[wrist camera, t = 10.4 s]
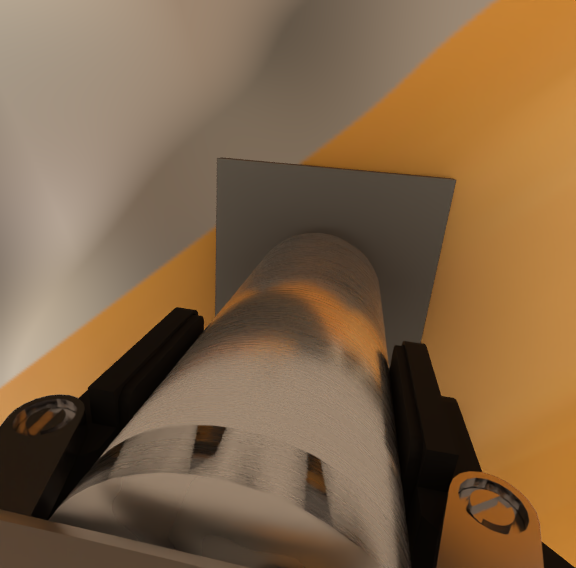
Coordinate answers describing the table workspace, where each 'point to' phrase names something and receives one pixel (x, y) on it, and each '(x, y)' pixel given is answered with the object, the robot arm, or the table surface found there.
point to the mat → (336, 228)
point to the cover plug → (267, 429)
